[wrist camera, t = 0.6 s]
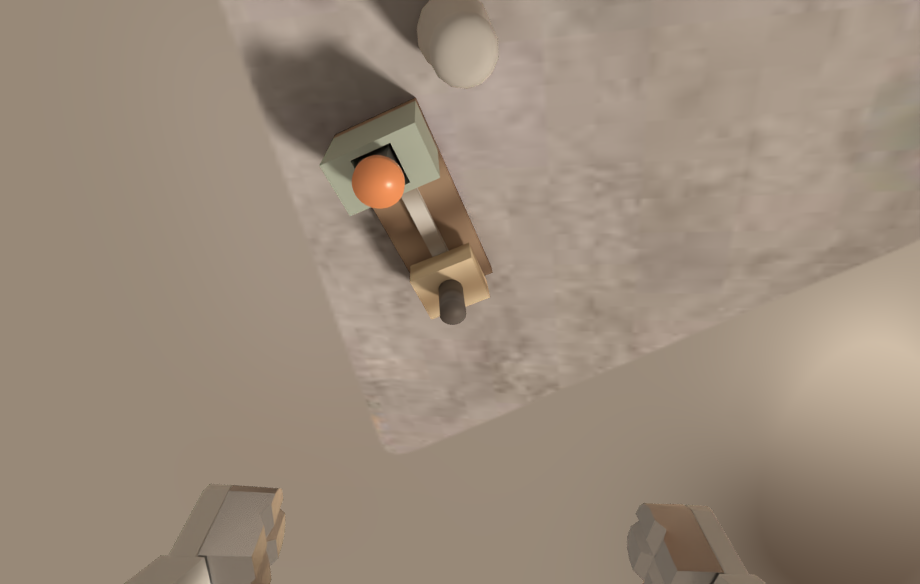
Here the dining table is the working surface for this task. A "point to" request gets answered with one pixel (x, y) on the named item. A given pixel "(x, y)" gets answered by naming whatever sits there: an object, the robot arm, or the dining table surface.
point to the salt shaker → (458, 41)
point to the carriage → (449, 283)
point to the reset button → (379, 178)
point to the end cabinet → (394, 128)
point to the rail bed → (429, 217)
